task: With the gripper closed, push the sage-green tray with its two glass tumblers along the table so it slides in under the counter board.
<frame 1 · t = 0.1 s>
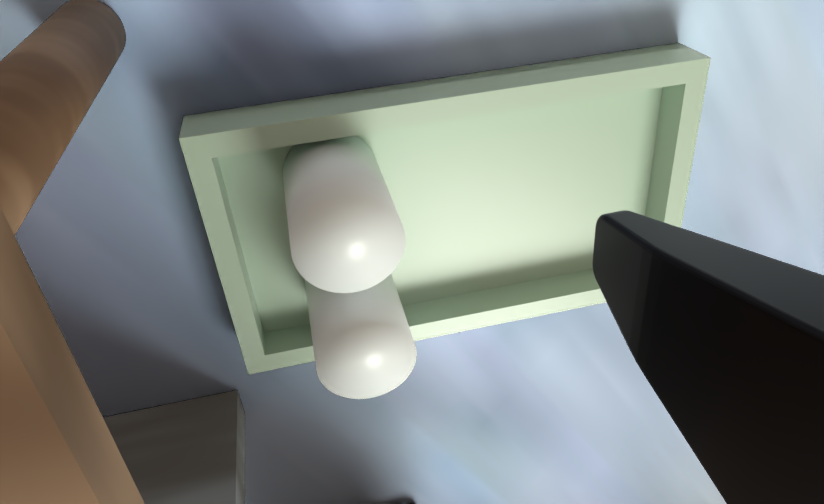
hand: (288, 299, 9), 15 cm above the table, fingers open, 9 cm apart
tray: (450, 201, 26), on the table
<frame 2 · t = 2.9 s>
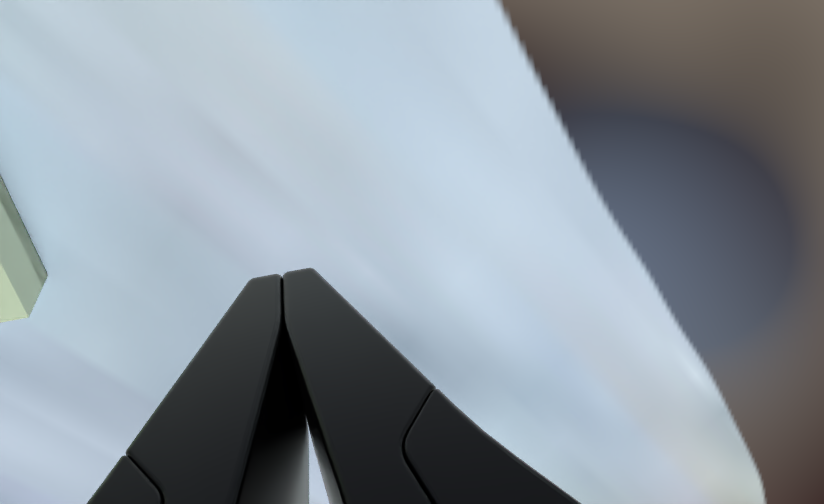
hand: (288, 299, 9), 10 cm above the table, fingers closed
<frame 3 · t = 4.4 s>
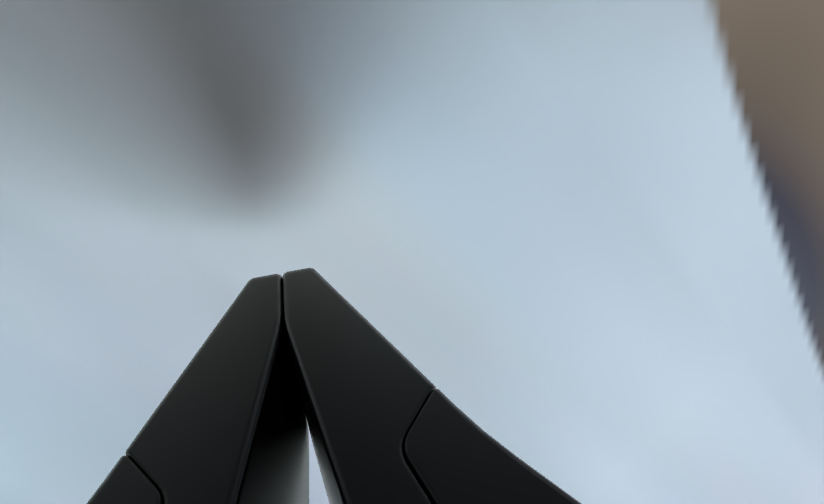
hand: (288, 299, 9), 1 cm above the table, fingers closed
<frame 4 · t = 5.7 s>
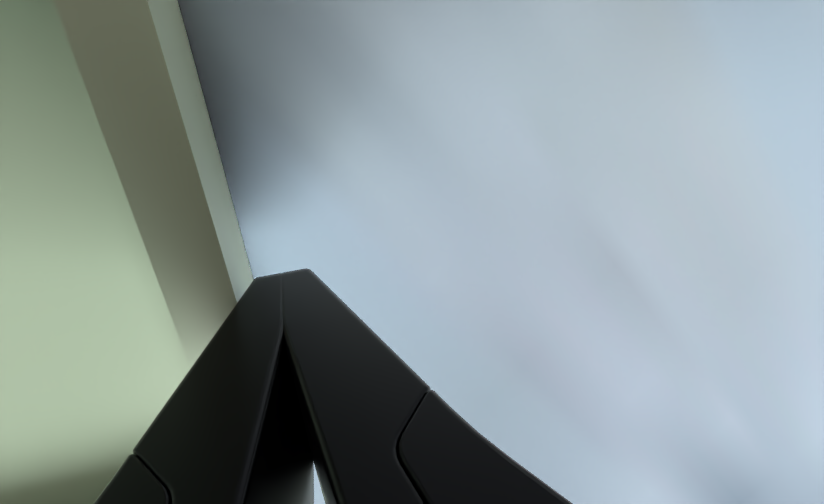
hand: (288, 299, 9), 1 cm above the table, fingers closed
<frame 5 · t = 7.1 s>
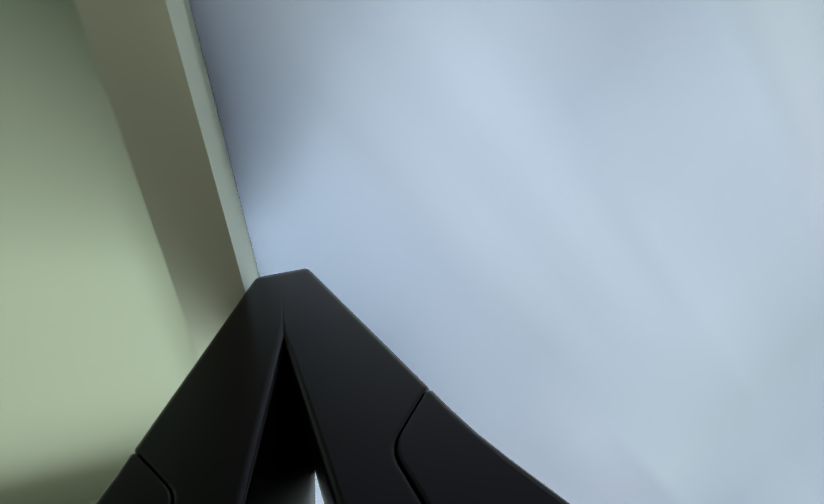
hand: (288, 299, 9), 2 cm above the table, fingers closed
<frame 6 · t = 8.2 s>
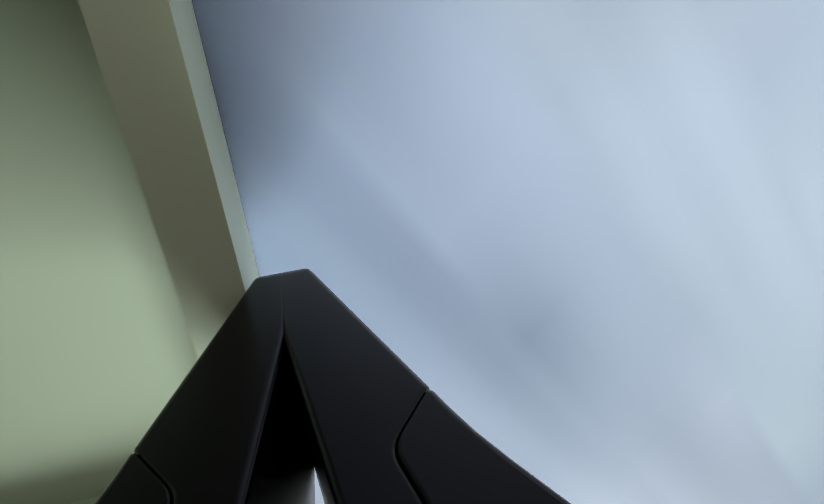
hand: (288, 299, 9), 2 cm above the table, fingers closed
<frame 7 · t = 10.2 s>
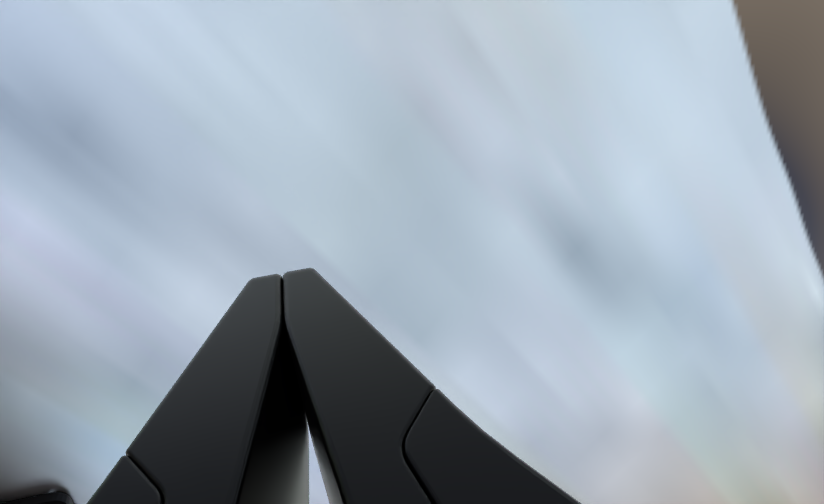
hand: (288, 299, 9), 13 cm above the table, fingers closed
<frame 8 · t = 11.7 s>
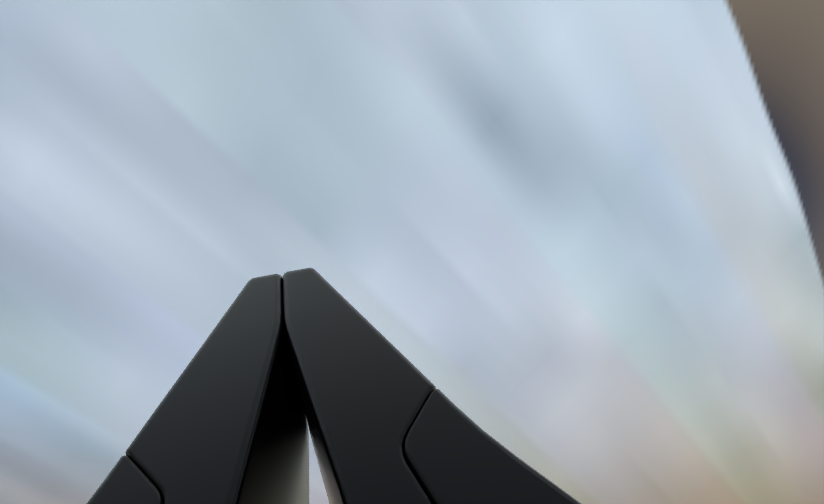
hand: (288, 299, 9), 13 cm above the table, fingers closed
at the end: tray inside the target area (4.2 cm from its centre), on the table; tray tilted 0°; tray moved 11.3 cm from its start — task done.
